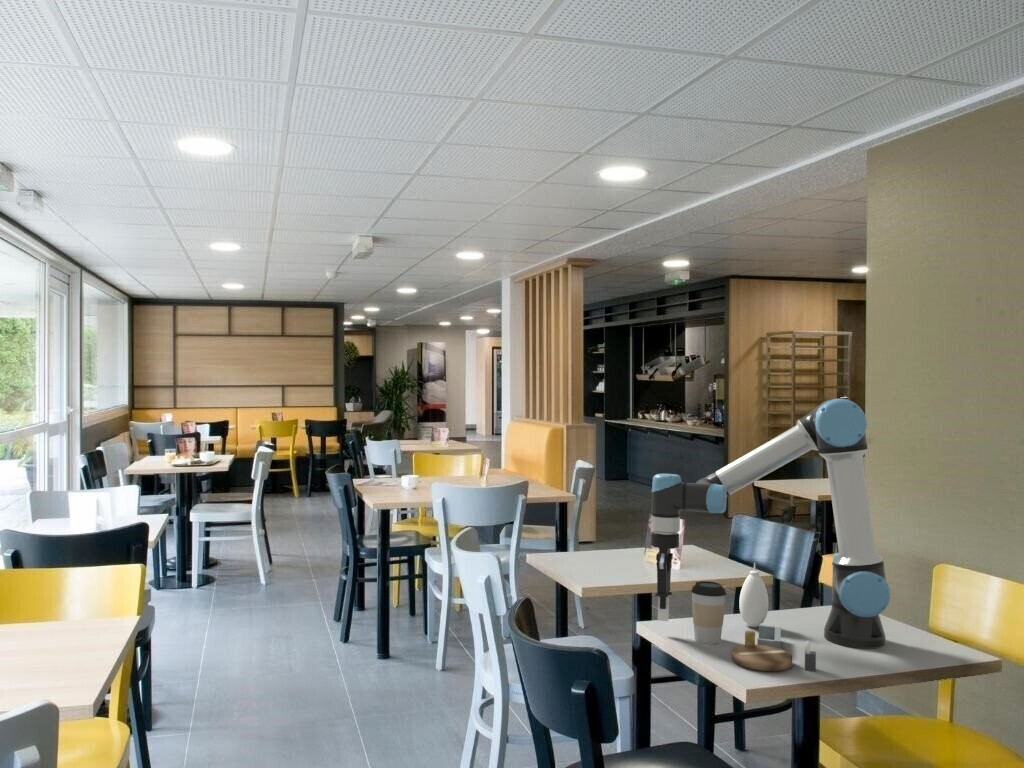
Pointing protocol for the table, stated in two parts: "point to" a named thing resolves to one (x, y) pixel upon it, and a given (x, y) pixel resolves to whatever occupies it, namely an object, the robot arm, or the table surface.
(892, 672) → the table surface
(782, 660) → the disc
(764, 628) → the pocket stop
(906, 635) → the table surface
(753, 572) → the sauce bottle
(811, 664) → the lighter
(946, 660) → the table surface
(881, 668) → the table surface
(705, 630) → the coffee cup
